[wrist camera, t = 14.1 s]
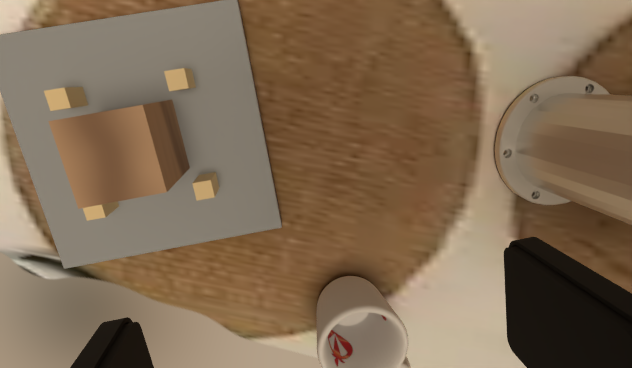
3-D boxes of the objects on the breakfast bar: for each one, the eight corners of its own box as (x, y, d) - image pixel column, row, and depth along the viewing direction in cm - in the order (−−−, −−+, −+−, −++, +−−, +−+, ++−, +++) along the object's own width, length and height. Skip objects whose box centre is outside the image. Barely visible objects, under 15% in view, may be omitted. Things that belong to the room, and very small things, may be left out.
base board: (238, 1, 34) (233, -10, 29) (281, 222, 39) (282, 239, 35) (-7, 39, 33) (-50, 33, 28) (72, 261, 38) (46, 284, 33)
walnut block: (172, 99, 34) (142, 104, 26) (190, 167, 35) (166, 192, 28) (100, 112, 33) (48, 121, 26) (121, 180, 35) (78, 208, 27)
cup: (417, 311, 43) (448, 361, 35) (365, 360, 44) (385, 420, 36) (346, 250, 41) (364, 290, 33) (293, 304, 41) (298, 355, 34)
